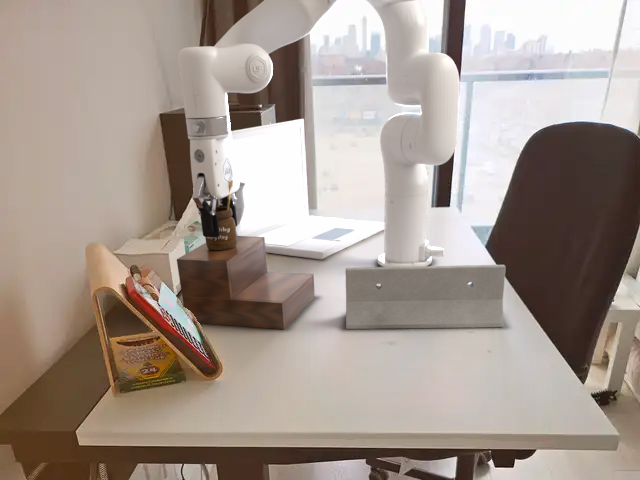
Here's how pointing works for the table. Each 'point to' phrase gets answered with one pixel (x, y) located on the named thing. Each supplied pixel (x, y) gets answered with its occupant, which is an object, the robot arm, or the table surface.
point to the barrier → (425, 297)
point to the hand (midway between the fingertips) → (220, 230)
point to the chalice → (239, 203)
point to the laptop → (287, 195)
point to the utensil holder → (224, 229)
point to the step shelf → (241, 287)
